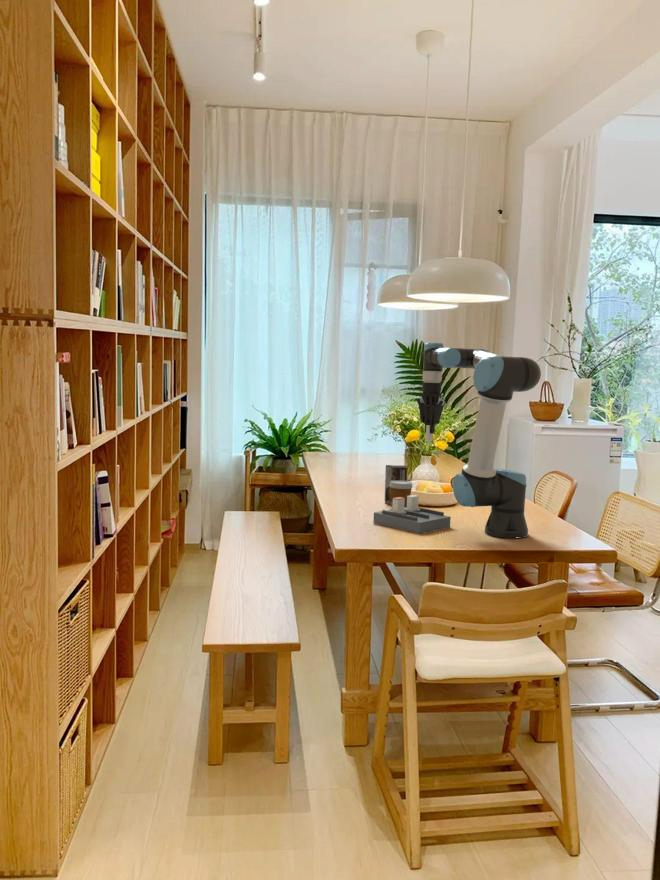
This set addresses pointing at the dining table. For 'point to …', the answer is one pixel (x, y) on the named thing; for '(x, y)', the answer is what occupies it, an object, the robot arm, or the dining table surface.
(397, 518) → the dark grey tray
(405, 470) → the coffee box
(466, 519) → the dining table surface
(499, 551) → the dining table surface
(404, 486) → the disposable coffee cup
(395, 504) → the breaker slider
